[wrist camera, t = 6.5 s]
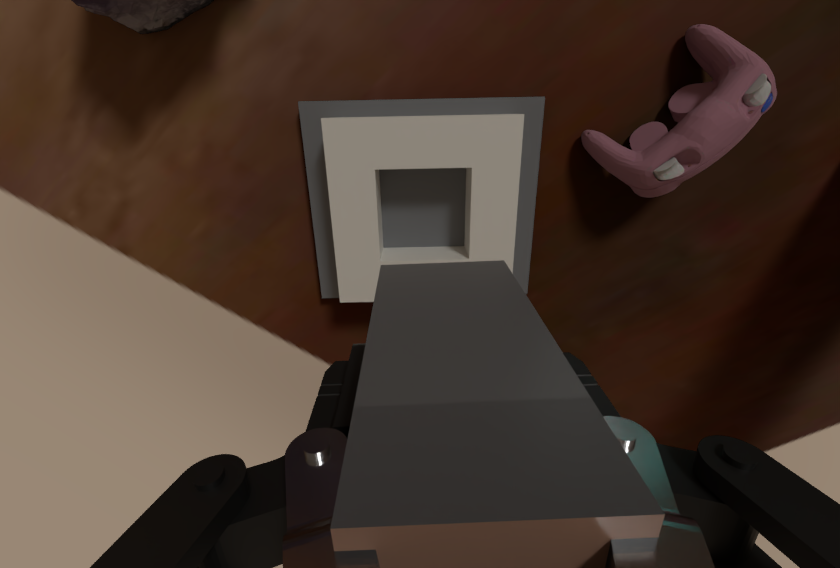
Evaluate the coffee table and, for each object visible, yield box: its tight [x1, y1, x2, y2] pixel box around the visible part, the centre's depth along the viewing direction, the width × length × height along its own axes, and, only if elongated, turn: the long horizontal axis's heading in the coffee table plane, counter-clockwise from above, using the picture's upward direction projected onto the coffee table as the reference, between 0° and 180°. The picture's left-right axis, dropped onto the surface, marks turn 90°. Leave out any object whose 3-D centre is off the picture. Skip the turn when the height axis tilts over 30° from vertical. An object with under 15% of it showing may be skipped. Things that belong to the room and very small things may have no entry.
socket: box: [298, 97, 545, 303], centre depth 28 cm, size 16×14×4 cm
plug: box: [330, 260, 665, 568], centre depth 11 cm, size 4×4×10 cm
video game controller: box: [581, 24, 777, 198], centre depth 26 cm, size 10×5×7 cm, turn 137°
